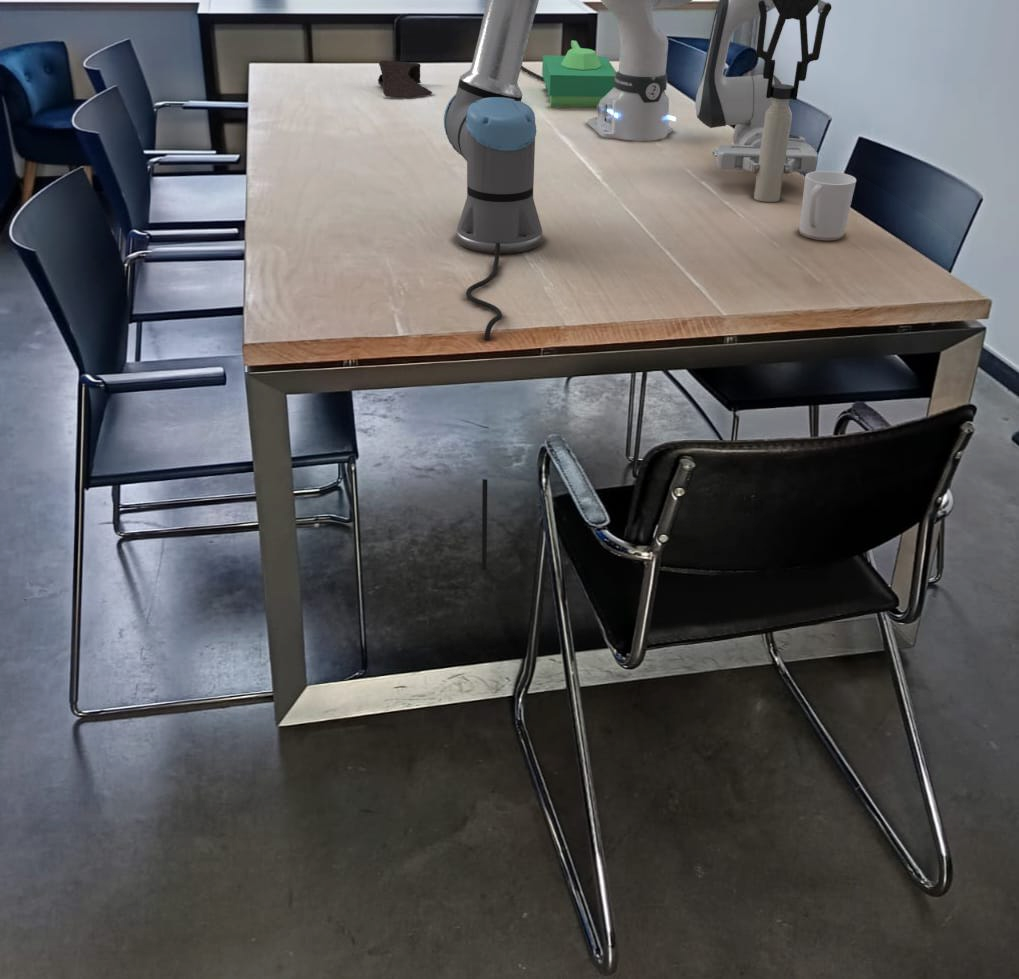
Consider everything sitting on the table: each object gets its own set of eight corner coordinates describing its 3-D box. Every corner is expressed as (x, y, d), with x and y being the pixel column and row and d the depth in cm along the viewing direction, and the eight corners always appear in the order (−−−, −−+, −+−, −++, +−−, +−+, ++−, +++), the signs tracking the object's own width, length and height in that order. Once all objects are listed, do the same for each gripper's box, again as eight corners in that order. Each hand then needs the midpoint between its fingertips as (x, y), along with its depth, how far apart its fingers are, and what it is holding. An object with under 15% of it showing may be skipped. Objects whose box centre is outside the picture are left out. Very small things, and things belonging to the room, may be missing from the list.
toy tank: (603, 37, 308) (620, 60, 279) (600, 82, 315) (616, 110, 285) (541, 36, 308) (551, 59, 278) (539, 81, 314) (548, 109, 284)
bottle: (757, 202, 219) (772, 92, 208) (751, 194, 223) (765, 87, 212) (782, 202, 219) (799, 93, 208) (775, 194, 224) (791, 87, 213)
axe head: (443, 87, 294) (392, 77, 287) (436, 115, 299) (385, 106, 292) (421, 62, 307) (371, 52, 300) (414, 89, 311) (365, 80, 304)
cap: (770, 98, 209) (772, 88, 208) (769, 94, 213) (770, 83, 212) (793, 100, 209) (795, 89, 208) (791, 95, 213) (793, 84, 212)
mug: (809, 222, 208) (818, 168, 202) (854, 233, 203) (864, 177, 197) (782, 236, 200) (791, 180, 195) (827, 247, 195) (838, 190, 190)
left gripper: (752, -36, 197) (735, 98, 209) (850, -32, 194) (828, 104, 207) (752, -41, 203) (736, 90, 215) (847, -37, 201) (826, 96, 213)
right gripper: (713, 134, 228) (721, 151, 216) (811, 137, 227) (825, 154, 215) (709, 164, 231) (717, 183, 219) (806, 167, 230) (820, 186, 219)
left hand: (781, 97), depth 211 cm, fingers closed on cap, 4 cm apart
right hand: (772, 169), depth 217 cm, fingers closed on bottle, 5 cm apart
